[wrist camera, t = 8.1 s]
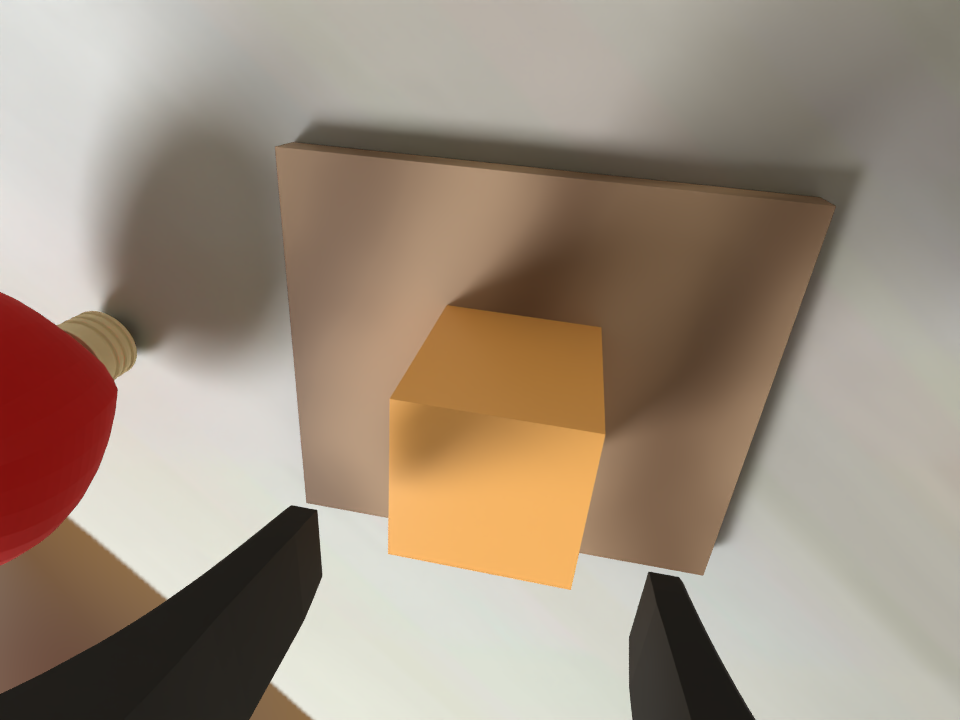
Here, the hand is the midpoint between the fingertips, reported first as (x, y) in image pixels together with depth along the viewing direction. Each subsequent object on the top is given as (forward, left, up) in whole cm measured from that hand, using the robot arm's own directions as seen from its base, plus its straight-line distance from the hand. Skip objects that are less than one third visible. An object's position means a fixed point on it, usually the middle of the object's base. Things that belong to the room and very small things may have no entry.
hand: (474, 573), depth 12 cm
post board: (0, 0, -9) cm, 9 cm away
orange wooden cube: (0, 0, -8) cm, 8 cm away
